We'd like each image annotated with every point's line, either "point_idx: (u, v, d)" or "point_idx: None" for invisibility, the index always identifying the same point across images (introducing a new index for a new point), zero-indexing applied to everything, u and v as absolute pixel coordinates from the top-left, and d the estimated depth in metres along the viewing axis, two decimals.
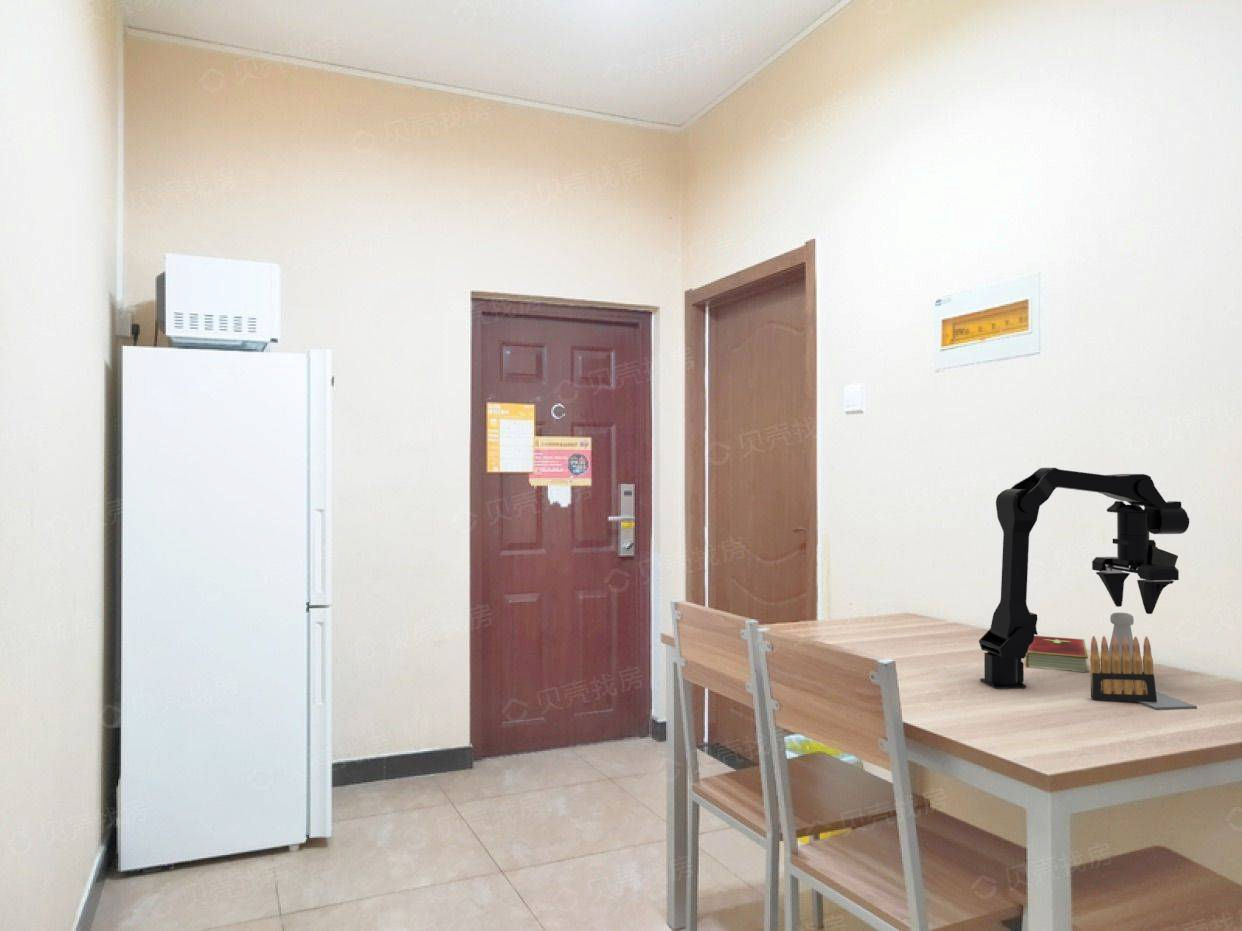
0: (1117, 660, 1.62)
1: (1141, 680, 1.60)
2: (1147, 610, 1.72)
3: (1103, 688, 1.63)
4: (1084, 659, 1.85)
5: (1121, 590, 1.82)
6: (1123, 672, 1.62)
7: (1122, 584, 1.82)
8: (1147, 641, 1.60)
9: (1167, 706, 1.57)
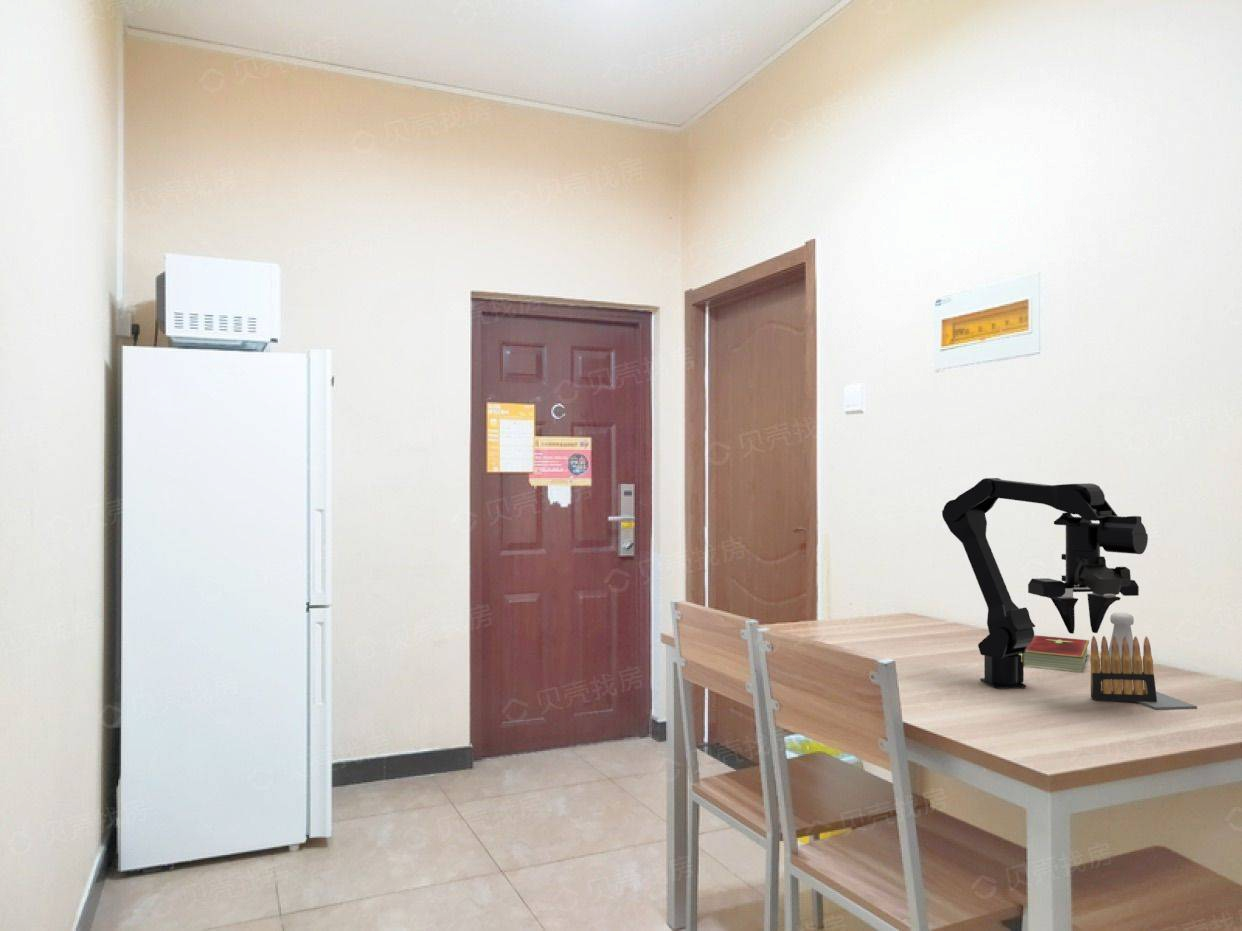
0: (1117, 660, 1.62)
1: (1141, 680, 1.60)
2: None
3: (1103, 688, 1.63)
4: (1079, 659, 1.85)
5: (1097, 615, 1.61)
6: (1123, 672, 1.62)
7: (1099, 609, 1.61)
8: (1147, 641, 1.60)
9: (1167, 706, 1.57)
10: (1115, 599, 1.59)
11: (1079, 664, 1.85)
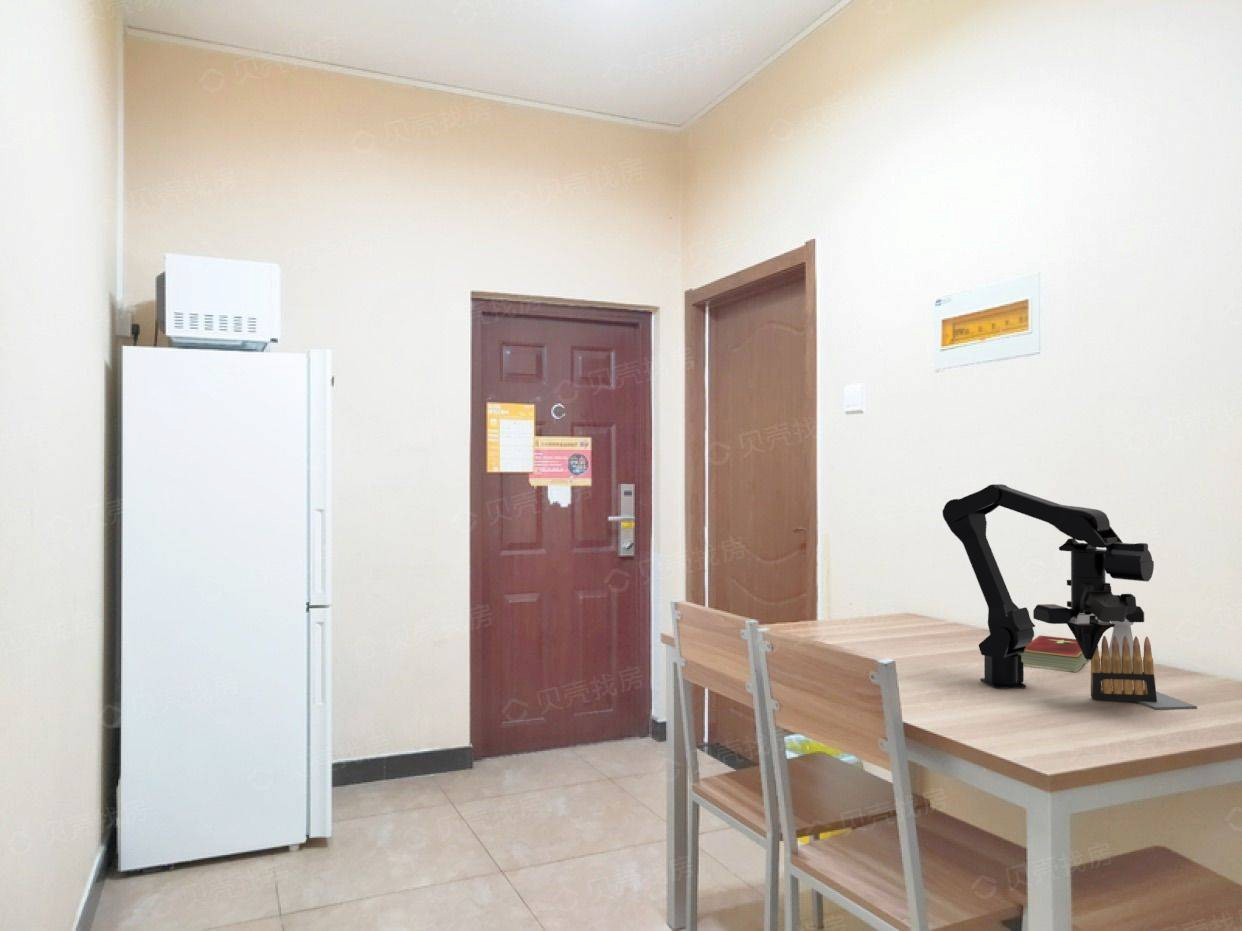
0: (1118, 660, 1.62)
1: (1141, 680, 1.60)
2: (1083, 653, 1.62)
3: (1103, 688, 1.63)
4: (1075, 659, 1.85)
5: (1091, 641, 1.61)
6: (1123, 672, 1.62)
7: (1093, 635, 1.60)
8: (1147, 641, 1.60)
9: (1167, 706, 1.57)
10: (1109, 626, 1.59)
11: (1074, 664, 1.85)
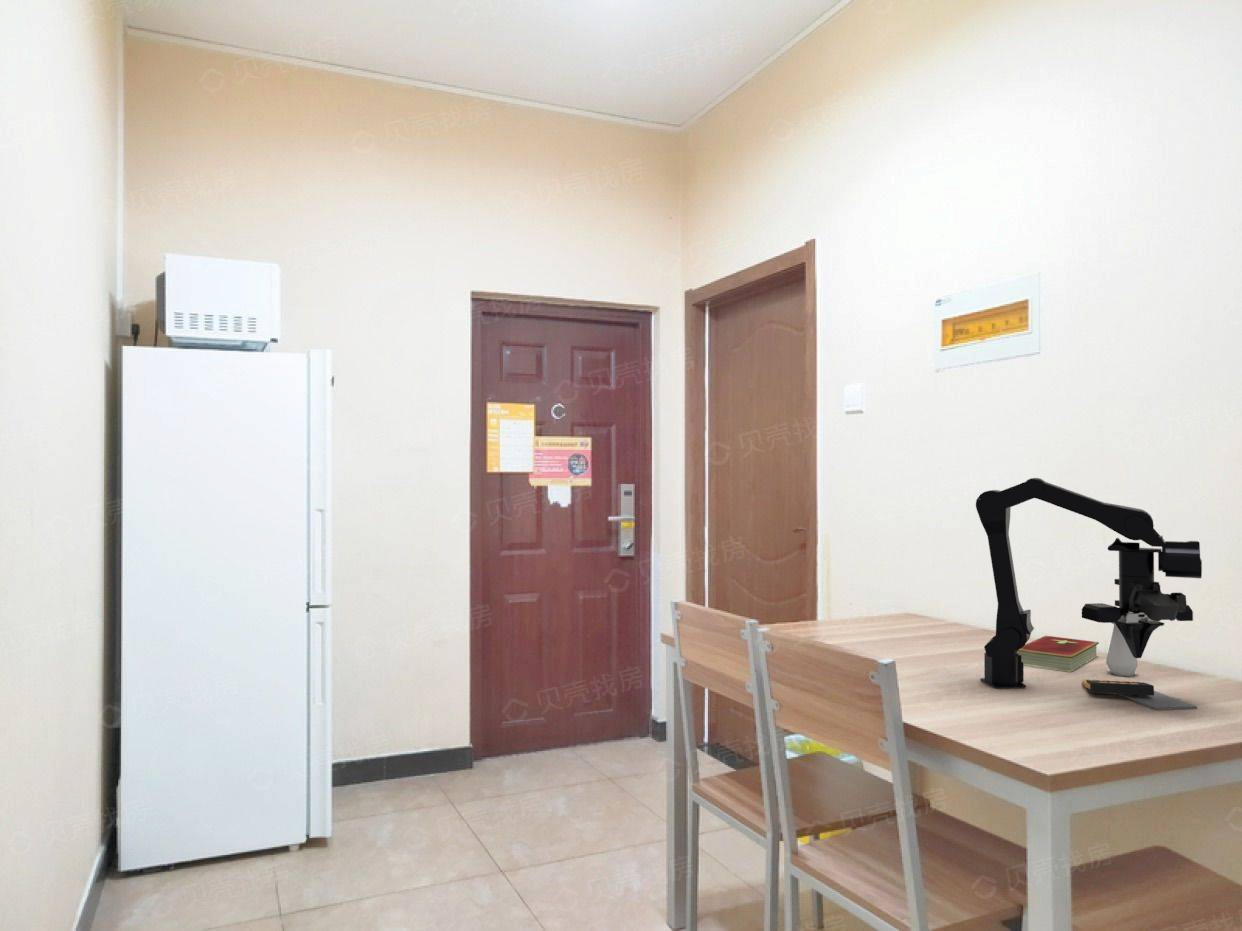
0: None
1: (1134, 683, 1.66)
2: (1131, 652, 1.63)
3: None
4: (1069, 659, 1.85)
5: (1140, 640, 1.62)
6: (1116, 683, 1.68)
7: (1142, 634, 1.61)
8: None
9: (1167, 706, 1.57)
10: (1159, 624, 1.60)
11: (1068, 664, 1.85)
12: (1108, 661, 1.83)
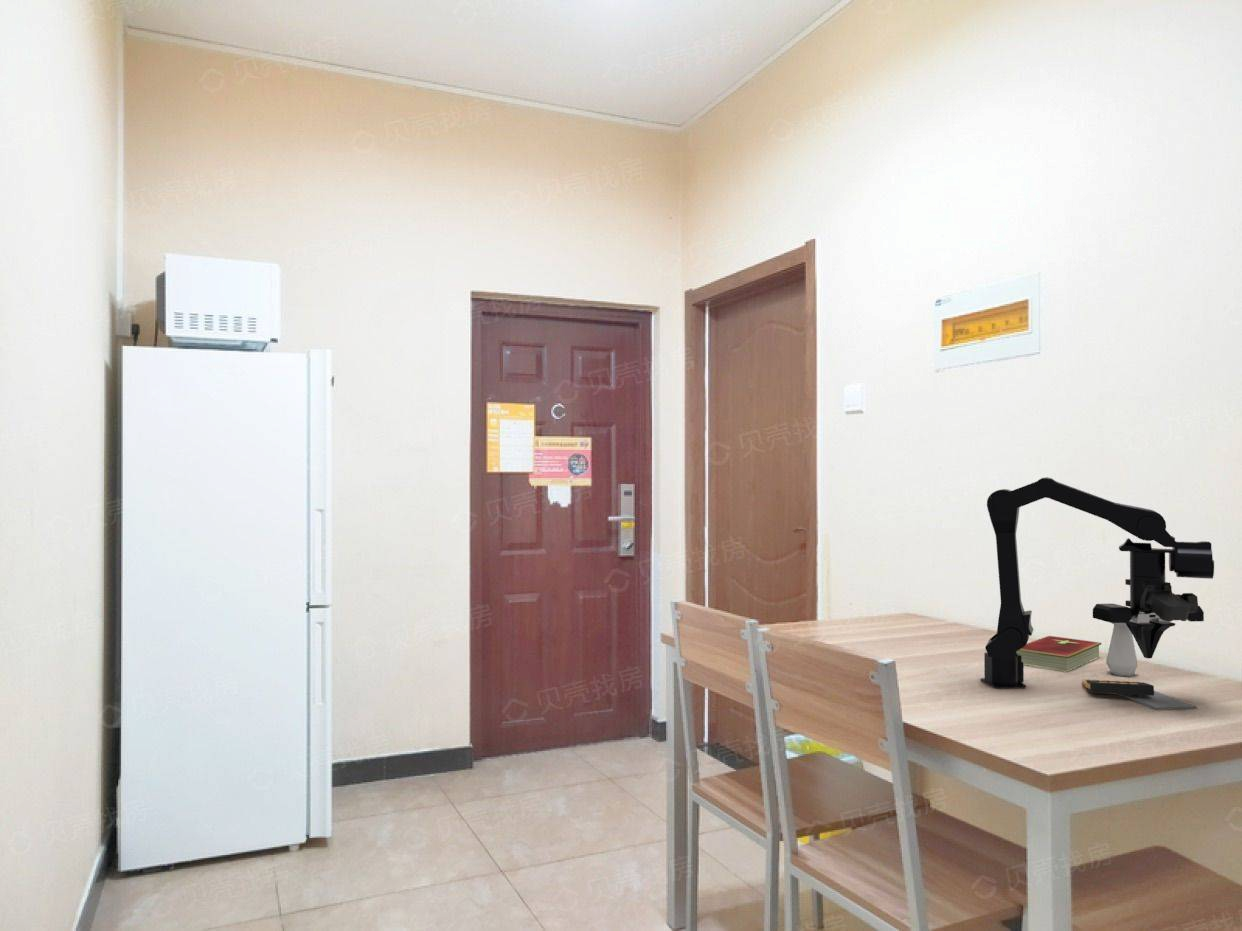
0: None
1: (1134, 683, 1.66)
2: None
3: None
4: (1065, 659, 1.86)
5: (1151, 640, 1.62)
6: (1116, 683, 1.68)
7: (1153, 634, 1.62)
8: None
9: (1167, 706, 1.57)
10: (1170, 625, 1.60)
11: (1065, 664, 1.86)
12: (1108, 661, 1.83)
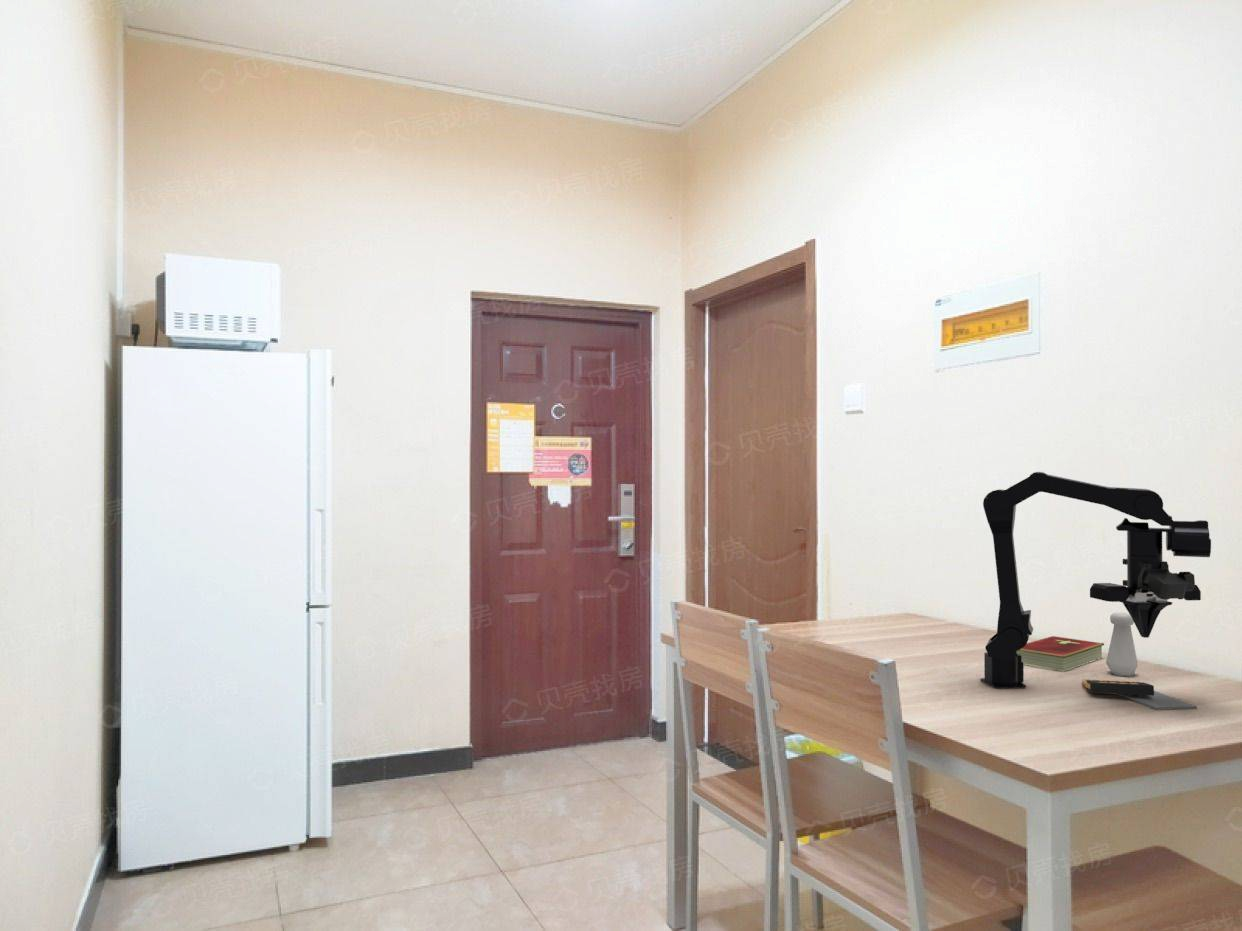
0: None
1: (1134, 683, 1.66)
2: None
3: None
4: (1062, 658, 1.86)
5: (1148, 620, 1.62)
6: (1116, 683, 1.68)
7: (1150, 613, 1.62)
8: None
9: (1167, 706, 1.57)
10: (1167, 604, 1.60)
11: (1061, 663, 1.86)
12: (1108, 661, 1.83)
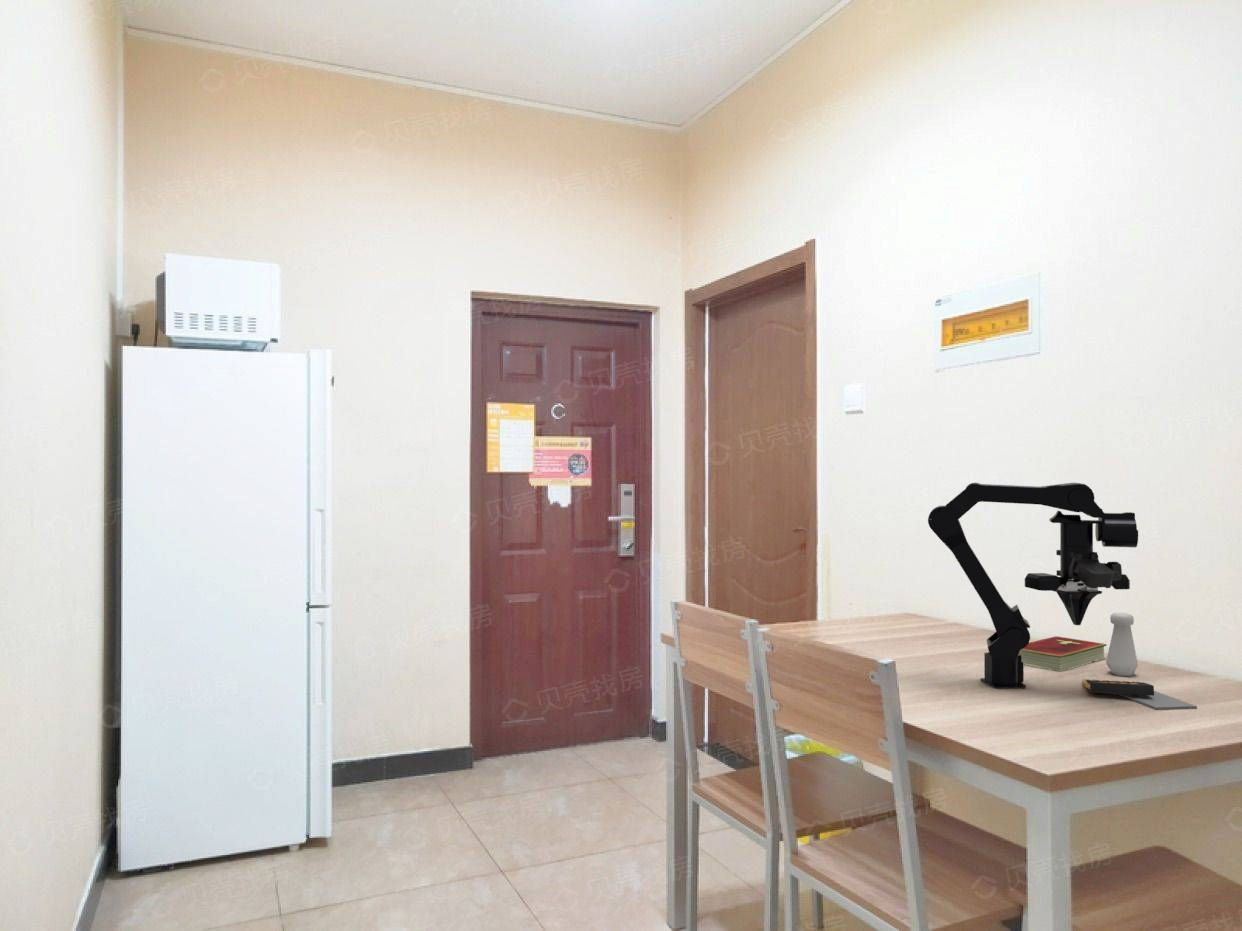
0: None
1: (1134, 683, 1.66)
2: None
3: None
4: (1058, 658, 1.86)
5: (1080, 608, 1.69)
6: (1116, 683, 1.68)
7: (1082, 602, 1.69)
8: None
9: (1167, 706, 1.57)
10: (1097, 593, 1.67)
11: (1058, 663, 1.86)
12: (1108, 661, 1.83)
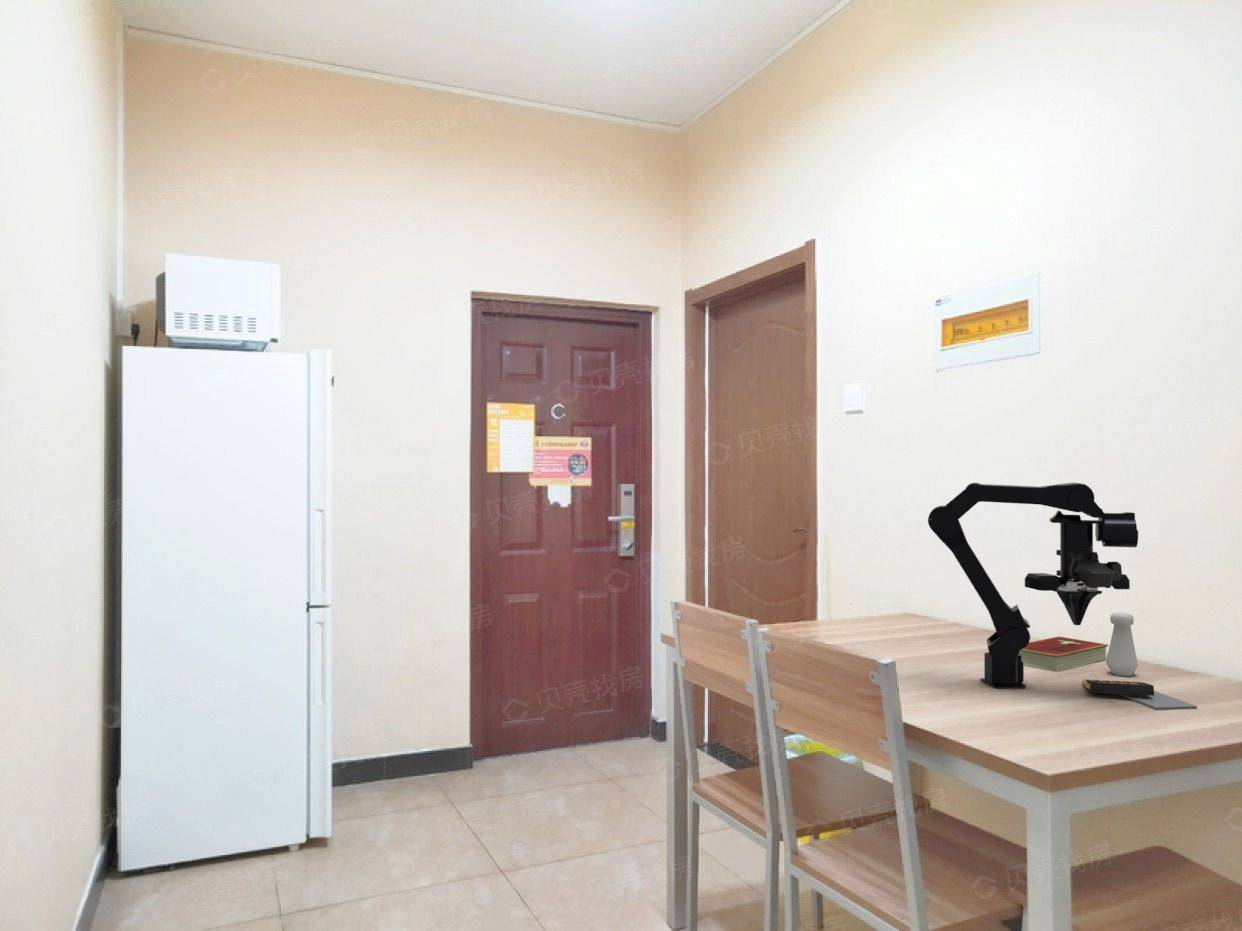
0: None
1: (1134, 683, 1.66)
2: None
3: None
4: (1055, 658, 1.86)
5: (1080, 608, 1.69)
6: (1116, 683, 1.68)
7: (1082, 602, 1.69)
8: None
9: (1167, 706, 1.57)
10: (1097, 593, 1.67)
11: (1055, 663, 1.86)
12: (1108, 661, 1.83)
